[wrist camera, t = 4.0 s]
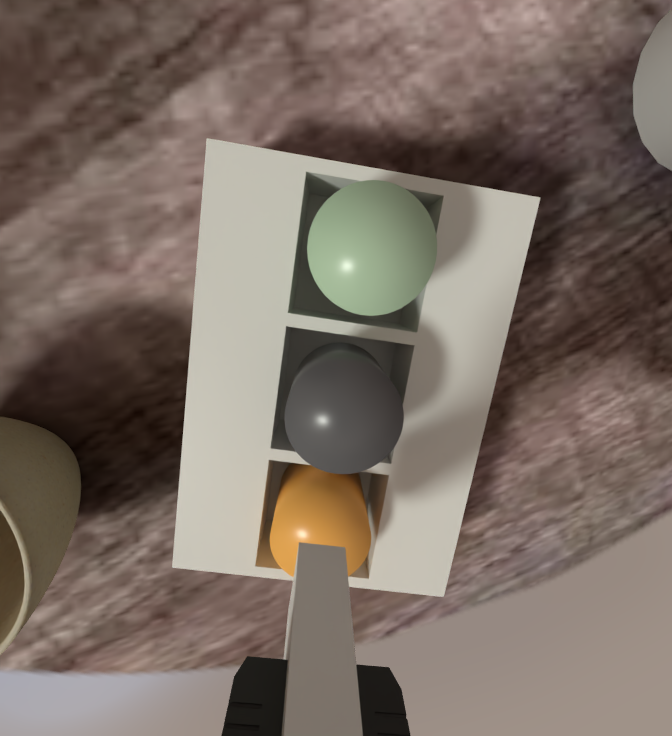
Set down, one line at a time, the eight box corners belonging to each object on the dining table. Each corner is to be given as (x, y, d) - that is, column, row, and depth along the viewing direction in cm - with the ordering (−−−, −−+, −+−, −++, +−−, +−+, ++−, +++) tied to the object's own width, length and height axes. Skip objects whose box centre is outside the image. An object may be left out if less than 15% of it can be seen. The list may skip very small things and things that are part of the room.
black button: (299, 336, 17) (293, 352, 13) (393, 349, 17) (414, 369, 13) (287, 425, 18) (277, 466, 14) (376, 437, 18) (392, 481, 14)
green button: (318, 197, 16) (317, 169, 12) (418, 214, 16) (449, 192, 12) (304, 300, 16) (298, 305, 12) (399, 314, 17) (423, 324, 13)
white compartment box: (232, 170, 18) (207, 138, 14) (494, 215, 18) (540, 197, 14) (200, 514, 21) (172, 567, 17) (421, 540, 22) (443, 596, 18)
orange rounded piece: (285, 445, 19) (276, 487, 15) (367, 456, 19) (379, 500, 15) (275, 520, 20) (264, 578, 16) (354, 529, 20) (362, 588, 16)
